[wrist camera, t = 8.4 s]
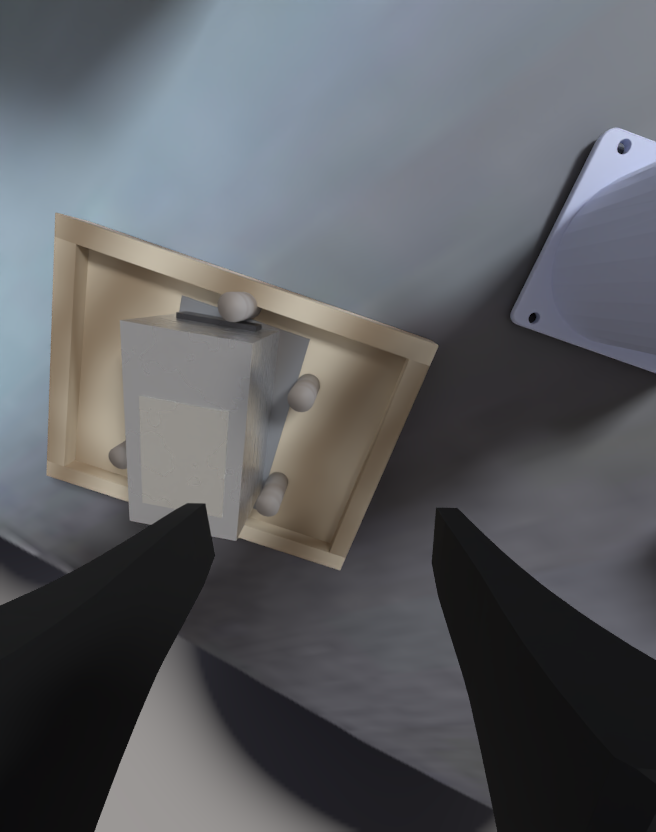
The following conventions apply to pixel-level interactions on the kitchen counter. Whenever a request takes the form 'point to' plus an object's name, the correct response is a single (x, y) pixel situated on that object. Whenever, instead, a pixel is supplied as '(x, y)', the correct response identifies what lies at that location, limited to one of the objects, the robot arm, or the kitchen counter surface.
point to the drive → (196, 415)
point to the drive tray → (292, 392)
